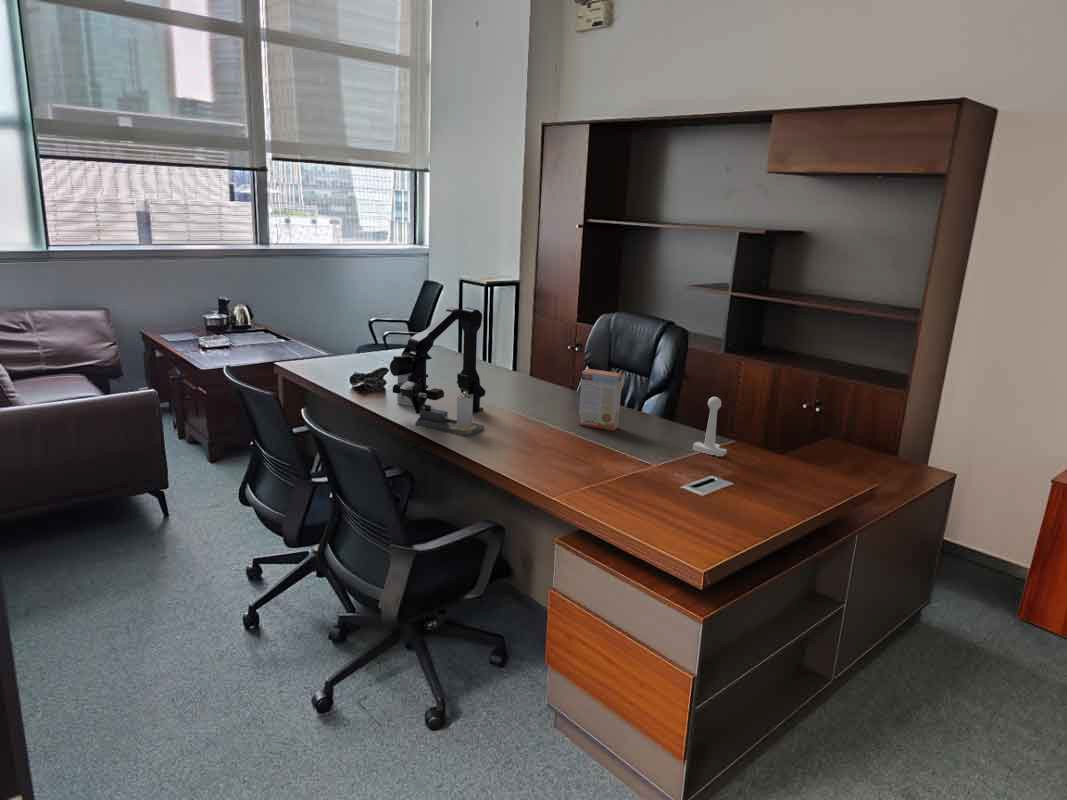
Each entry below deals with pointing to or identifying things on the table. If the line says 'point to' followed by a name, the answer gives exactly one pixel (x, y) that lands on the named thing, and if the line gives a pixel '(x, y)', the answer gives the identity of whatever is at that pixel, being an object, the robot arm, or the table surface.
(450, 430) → the press bed
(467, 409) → the housing
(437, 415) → the ram
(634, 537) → the table surface
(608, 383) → the cracker box
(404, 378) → the ink cartridge box
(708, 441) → the joystick
